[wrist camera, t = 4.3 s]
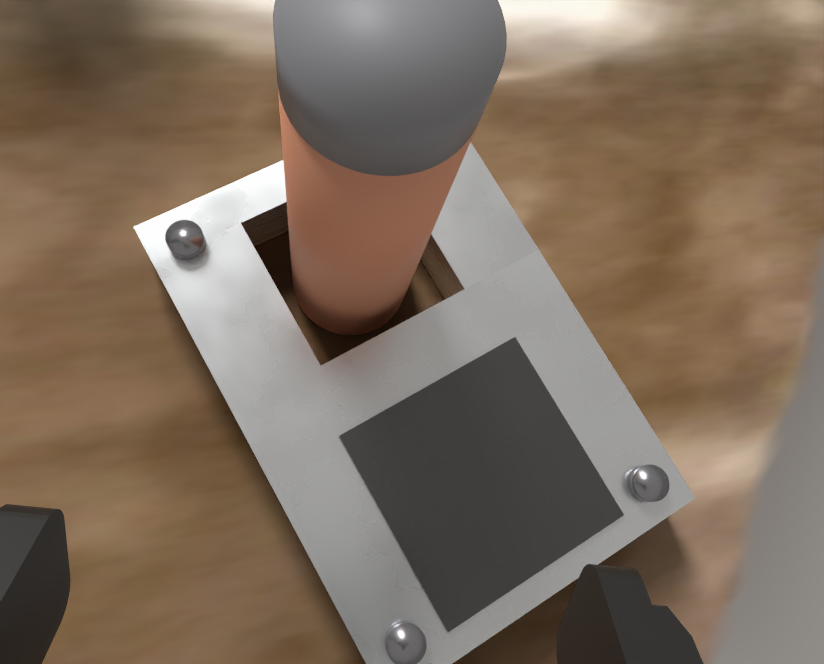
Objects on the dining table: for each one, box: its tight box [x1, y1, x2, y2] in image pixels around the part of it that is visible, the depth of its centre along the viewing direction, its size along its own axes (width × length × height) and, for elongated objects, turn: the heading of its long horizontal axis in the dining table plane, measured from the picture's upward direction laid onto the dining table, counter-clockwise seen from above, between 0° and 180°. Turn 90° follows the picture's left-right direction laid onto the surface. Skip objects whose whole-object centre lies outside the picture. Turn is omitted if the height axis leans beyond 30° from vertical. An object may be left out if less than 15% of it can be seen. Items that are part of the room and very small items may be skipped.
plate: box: [134, 142, 695, 664], centre depth 29 cm, size 20×14×4 cm
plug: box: [273, 0, 507, 335], centre depth 23 cm, size 5×5×17 cm
